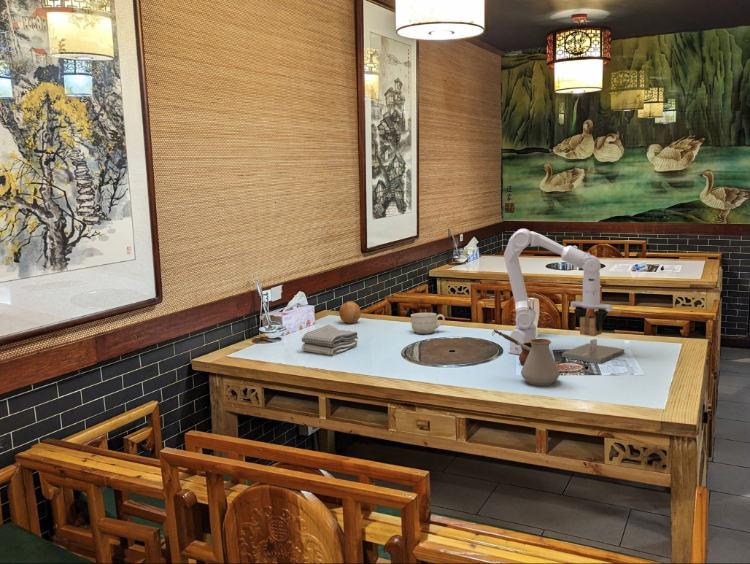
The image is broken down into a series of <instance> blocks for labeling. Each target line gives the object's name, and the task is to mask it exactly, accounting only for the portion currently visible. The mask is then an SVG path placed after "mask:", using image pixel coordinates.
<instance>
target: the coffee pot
mask: <svg viewBox="0 0 750 564" xmlns="http://www.w3.org/2000/svg"><path fill="white" fill-rule="evenodd" d="M495 334H498V335H499V336H501V337H502V338H504V339H506V340H507V341H509V342H510V341H511V342H514V343H516V344H518V345H520V346H522V347H523V348H525V349H527V350H529V351H530V352H529V354H528V357H527V359H526V361H525V364H524V366H523V365H522V366H523V367H522V369H521V371H520V375H521V377H522V378H523V380H525V381H526V382H527V383H528V384H530V385H534V386H541V387H542V386H549V385H553V383H555V382H556V381H557V380H558V378H559V377H560V371H559V368H558V365H557V364H556V363H555V360H554V357H553V355H552V352H551V350H550V344H552V341H551V340H550V339H547V338H536V339H532V340H530V341H529V342H530V343H531V346H532V348H530V347H528V346H526V345H524V344H522V343H520V342H518V341H516V340H515V339H513V338H511V337H510V335H508V334H505V333H502V331H499V330H497V329H493V331H492V333H491V335H492V336H494V335H495Z"/></svg>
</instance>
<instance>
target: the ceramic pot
mask: <svg viewBox="0 0 750 564" xmlns="http://www.w3.org/2000/svg"><path fill="white" fill-rule="evenodd" d="M523 344H524V345H526V346H528V347H530V348H532V346H531V343H530V342H528V343H523ZM521 348H522V352H521V354H520V355H519V354H518V355H519V356H518V361H519V363H520V365H521V366H524V364H525V361H526V359H527V357H528V354H529V352H530V351H529V350H527V349H525V348H523V347H522V346H521ZM554 361H555V360H554ZM555 363H556V366H557V367H560V363H559V362H558V361H555Z"/></svg>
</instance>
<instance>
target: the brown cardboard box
mask: <svg viewBox="0 0 750 564" xmlns="http://www.w3.org/2000/svg"><path fill="white" fill-rule="evenodd" d="M602 332H603V327H602V328H601V330H600V331H597V330H596V315H588V314H586V316H583V317H580V324H579V335H582V336H588V337H589V336H590V337H597V336H599V335H602V334H603V333H602Z"/></svg>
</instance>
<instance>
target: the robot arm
mask: <svg viewBox="0 0 750 564" xmlns="http://www.w3.org/2000/svg"><path fill="white" fill-rule="evenodd" d="M529 245H530V247H537V246H538V247H541V248H543V249H546V250H548V251H551V252H553V253H555V254H557V255H560V256H561V260H562V261H564V262H566V263H568V264H569V265H572V266H573V267H576V268H578V269H580V268H581V269H582V270H583V277H582V301H575V300H573V301H570V308H574V309H573V311H574V314H575V315H576V317H577V320H578V323H579V325H580V317H583V316H586V315H587V311H588V310H595V311H594V316H596V330H597V331H600V330H601V328H602V329H603V324H604V321H605V320H606V317H607V315H608V313H609V312H612V311H613V304H612V305H611V304H607V303H602V302H601V297H600V296H601V278H600V276H601V274H600V270H601V268H602V267H601V261H600V260H599V258H598V257H597V256H596V255H595V254H594V255H593V254H591V253H590V252H584V251H583V250H581V249H579V248H578V246H576V245H575V244H574V245H573V246H572V245H567V246H564V245H562V244H560V243H558V242H556V241H555V240H553V239H550V238H549V237H546V236H545V235H543V234H541V233H537V232H535V231H530V230H529V229H527V228H520V229H517V231H514V233H513V234H512V235H511V236H510V238H509V240H508V243H507V245H506V248H505V250H504V253H503V258H504V262H505V266H506V267H505V268H506V270H507V274H508V279H509V282H510V288H511V292H512V295H513V299H514V300H513V301H514V303H515V304H514V306H515V313H516V314H515V325H514V326H515V327H514V330H512V332H511V333H510V335H509V336H510V337H511V338H513V339H515V340H516V341H518V342H520V343H522V344H523V343H528V342H529V341H530V340H532V339H537V338H536V326H535V325H534V323H533V322H534V320H535V312H534V310H533V309H532V308H531V306H530V302H529V300H528V298H529V297H528V292H527V289H526V284H525V280H524V276H523V272H522V268H521V264H520V259H519V257H520V255H521V253H522V252H523V250H524V249H525V248H527V247H528V246H529ZM509 346H510V347H509V350H508V351H507V353H508V354H514V355H520V354H521V352H522V348H521V346H520V345H518V344H516V343H514V342H511V341H509Z"/></svg>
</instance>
